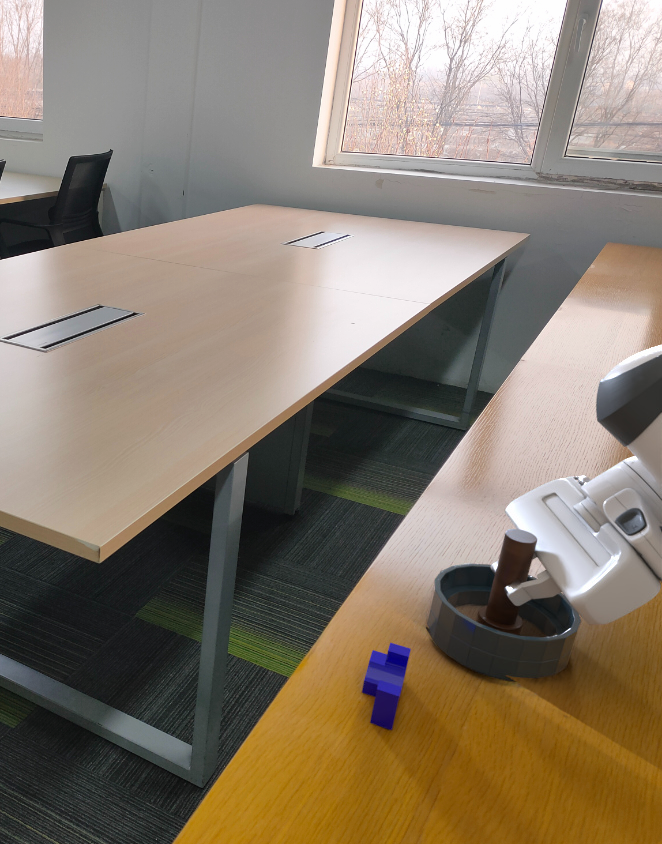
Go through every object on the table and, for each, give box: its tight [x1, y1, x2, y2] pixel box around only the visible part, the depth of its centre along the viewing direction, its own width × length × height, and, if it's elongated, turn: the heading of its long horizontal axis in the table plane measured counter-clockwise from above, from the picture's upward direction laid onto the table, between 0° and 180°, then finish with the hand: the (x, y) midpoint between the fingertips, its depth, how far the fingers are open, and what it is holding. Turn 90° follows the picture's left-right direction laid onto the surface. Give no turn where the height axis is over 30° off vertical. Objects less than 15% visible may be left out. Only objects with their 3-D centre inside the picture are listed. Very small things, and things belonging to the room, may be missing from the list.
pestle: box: [475, 528, 537, 636], centre depth 85 cm, size 4×4×13 cm
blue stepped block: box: [361, 642, 412, 731], centre depth 79 cm, size 8×4×4 cm, turn 153°
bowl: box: [425, 562, 582, 683], centre depth 87 cm, size 14×14×6 cm
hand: (502, 586), depth 85 cm, fingers closed on pestle, 3 cm apart
